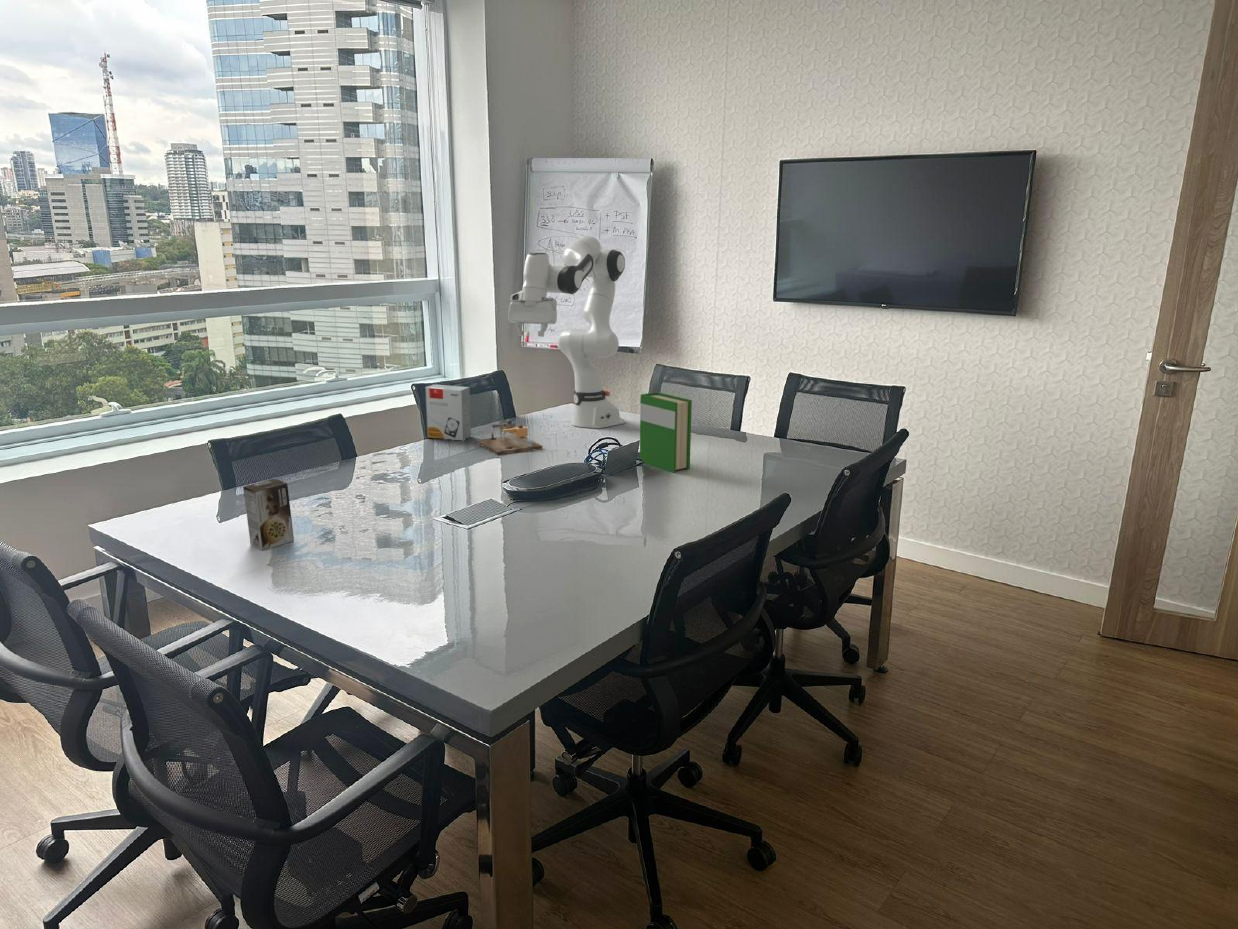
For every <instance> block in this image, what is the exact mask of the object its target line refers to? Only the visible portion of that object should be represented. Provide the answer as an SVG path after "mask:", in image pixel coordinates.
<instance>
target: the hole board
mask: <svg viewBox="0 0 1238 929" xmlns="http://www.w3.org/2000/svg"><path fill="white" fill-rule="evenodd" d="M504 438H505V443H502V436H498V437H497V436H496V437H494V438H493V439H492V437H488V438H480V439H475V441H476V444H477V443H479V444H480V445H479V444H478V445H479V446H481V445H483V446H484V447H485V448H484V447H483V446H482V447H483V448H484V449H486V448H487V449H486V450H488V449H489V450H490V451H489V450H488V451H489V452H491V451H492V452H491V453H493V452H494V453H495V454H494V453H493V454H494V455H496V454H497V455H496V456H500V455H499V454H501V455H506V454H505V453H508V454H512V453H511V452H515V453H522V451H523V452H527V451H528V450H530V451H534V450H533V449H537V450H543V445H542V444H540V443H538V442H536V441H534V440H532V447H525V446H523V445H521V444H519V443H517V442H515V441H513V440H512V439H510V438H508V437H506V435H504Z"/></svg>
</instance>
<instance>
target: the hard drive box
mask: <svg viewBox="0 0 1238 929" xmlns="http://www.w3.org/2000/svg"><path fill="white" fill-rule="evenodd" d="M424 389H425V391H424V392H425V413H426V414H425V415H426V431H427V432H426V435H427V439H428V438H429V439H435V438H446V439H445V440H447V439H452V440H451V441H454V440H462V441H461V442H464V441H465V440H464V439H466V438H468V439H469V437H470V436H471V437H472V427H471V426H472V425H471V397H470V396H471V394H470V393H471V391H470V387H469V386H458V385H446V384H445V385H444V384H435V383H434V384H432V385H431V384H430V385H428V386H425V387H424ZM471 437H470V438H471ZM453 439H454V440H453ZM435 440H436V439H435ZM463 440H464V441H463ZM466 440H467V439H466Z"/></svg>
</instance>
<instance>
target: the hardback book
mask: <svg viewBox="0 0 1238 929" xmlns="http://www.w3.org/2000/svg"><path fill="white" fill-rule="evenodd" d="M639 400H640V408H639V410H640V412H639V413H640V417H639V419H640V421H639V423H640V425H639V460H640V459H641V460H642V462H644V463H643V464H645V465H649V466H651V467H653V468H658V469H660V470H663V471H665V472H669V473H673V474H676V473H677V470H682V469H684V470H690V469H691V445H692V444H691V443H692V442H691V440H692V436H691V435H692V434H691V433H692V409H693V405H692V402H693V400H692V399H689V398H684V397H680V396H676V395H671V394H666V393H663V392H658V391H655V392H649V393H642V394H640V399H639ZM642 462H641V463H642Z"/></svg>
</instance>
